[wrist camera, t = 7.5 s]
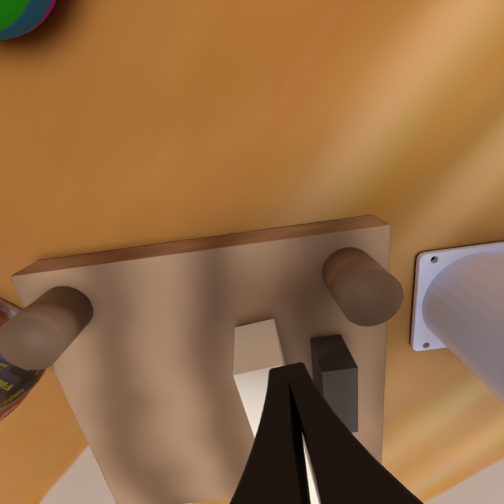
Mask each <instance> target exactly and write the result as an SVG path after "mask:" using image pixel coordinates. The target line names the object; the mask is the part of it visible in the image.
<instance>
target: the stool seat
mask: <svg viewBox="0 0 504 504" xmlns="http://www.w3.org/2000/svg"><path fill="white" fill-rule="evenodd" d="M389 251H390V224H388V223H386V222H384V221H382V220H380V219H379V218H377V217H375V216H373V215H368V216H360V217H353V218H346V219H338V220H331V221H324V222H316V223H309V224H302V225H294V226H287V227H280V228H272V229H265V230H258V231H250V232H243V233H236V234H228V235H221V236H214V237H206V238H199V239H192V240H184V241H177V242H170V243H162V244H155V245H148V246H140V247H133V248H126V249H118V250H111V251H104V252H96V253H89V254H82V255H74V256H67V257H60V258H52V259H45V260H38V261H37V262H35V263H33V264H31V265H29V266H28V267H26V268H24V269H22V270H21V271H19V272H17V273H15V274H14V275H12V276H10V278H11V280H12V282H13V284H14V286H15V288H16V291H17V293H18V295H19V297H20V299H21V301H22V303H23V306H24V309H23V310H21V311H20V312H19V313H17V314H16V315H15V316H13V317H12V318H11V319H9V320H8V321H7V322H5V323H4V324H3V325H1V326H0V354H1V355H2V356H3V357H4V358H5V359H6V360H7V361H8V362H10V363H11V364H13V365H15V366H17V367H20V368H23V369H28V370H41V369H45V368H48V367H50V366H51V365H52V367H53V369H54V372H55V374H56V376H57V378H58V380H59V382H60V384H61V387H62V389H63V391H64V393H65V395H66V397H67V399H68V401H69V404H70V406H71V408H72V410H73V412H74V414H75V416H76V418H77V421H78V423H79V425H80V427H81V429H82V431H83V433H84V436H85V438H86V440H87V442H88V444H89V446H90V448H91V450H92V452H93V455H94V457H95V459H96V461H97V463H98V465H99V468H100V469H101V472H102V474H103V476H104V478H105V480H106V482H107V484H108V487H109V489H110V491H111V493H112V495H113V497H114V499H115V501H116V504H186V503H194V502H202V501H211V500H219V499H227V498H232V497H233V495H234V493H235V490H236V488H237V486H238V483H239V481H240V479H241V476H242V474H243V471H244V469H245V466H246V463H247V461H248V458H249V455H250V452H251V449H252V446H253V443H254V440H255V438H254V435H253V432H252V429H251V426H250V423H249V420H248V417H247V414H246V411H245V409H244V406H243V403H242V400H241V397H240V394H239V391H238V388H237V385H236V382H235V380H234V377H233V365H234V338H235V327H240V326H244V325H248V324H253V323H257V322H261V321H266V320H270V319H274V321H275V325H276V329H277V332H278V336H279V340H280V344H281V348H282V352H283V356H284V360H285V363H286V365H289V364H294V363H298V362H302V363H304V364H305V366H306V368H307V371H308V373H309V375H310V376H311V378H312V380H313V382H314V383H315V385H316V386H317V388H318V390H319V391H320V393H321V394H322V396H323V397H324V398H325V400H326V401H327V402H328V404H329V405H330V407H331V408H332V409H333V411H334V412H335V413H336V415H337V416H338V417H339V418H340V420H341V421H342V422H343V423H344V424H345V426H346V427H347V428H348V429H349V430H350V432H351V433H352V434H353V435H354V436H355V437H356V439H357V440H358V441H359V442H360V443H361V444H362V445H363V446H364V447H365V448H366V449H367V450H368V452H369V453H370V454H371V455H372V456H373V457H374V458H375V459H376V460H377V461H378V462H379V463H380V464H381V465H382V438H383V411H384V385H385V358H386V331H387V320H389V319H390V318H391V317H393V316H394V314H395V313H396V312H397V311H398V309H399V308H400V306H401V303H402V300H403V290H402V287H401V285H400V283H399V282H398V280H397V279H396V278H395V277H393V276H392V275H391V274H390V273H389Z"/></svg>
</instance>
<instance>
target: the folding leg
mask: <svg viewBox="0 0 504 504" xmlns="http://www.w3.org/2000/svg"><path fill="white" fill-rule="evenodd" d="M285 365H286V363H285V360H284V356H283V352H282V348H281V344H280V340H279V336H278V332H277V329H276V325H275V321H274V319H270V320H266V321H261V322H257V323H253V324H248V325H244V326H240V327H235V338H234V365H233V377H234V380H235V382H236V385H237V388H238V391H239V394H240V397H241V400H242V403H243V406H244V409H245V411H246V414H247V417H248V420H249V423H250V426H251V429H252V432H253V435H254V438H255V436H256V433H257V429H258V426H259V423H260V419H261V415H262V410H263V406H264V402H265V397H266V391H267V384H268V373H269V370H270V369H271V368H276V367H280V366H285ZM302 437H303V434H302ZM303 445H304V452H305V460H306V468H307V476H308V484H309V492H310V500H311V504H321V502H320V497H319V492H318V487H317V483H316V478H315V474H314V470H313V467H312V464H311V460H310V457H309V454H308V450H307V447H306V444H305V440H304V437H303Z"/></svg>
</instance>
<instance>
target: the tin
mask: <svg viewBox="0 0 504 504" xmlns="http://www.w3.org/2000/svg"><path fill="white" fill-rule="evenodd" d="M21 310H23V309H21V308H20V307H18V306H16V305H14V304H12V303H10V302H8V301H6V300H4V299H2V298H0V326H1V325H3V324H4V323H5V322H7V321H8V320H9V319H11V318H12V317H13V316H15V315H16V314H17V313H19V312H20V311H21ZM45 370H46V368H45V369H41V370H28V369H23V368H20V367H17V366H15V365H13V364H11V363H10V362H8V361H7V360H6V359H5V358H4V357H3V356H2V355H1V354H0V421H1V420H2V419H4V418H5V417H6V416H7V415H9V414H10V413H11V412H12V411H13V410H14V409H15V408H17V407H18V406H19V405H20V404H21V402H22V401H23V400H24V399H25V398H26V396H27V395H28V394H29V392H30V391H31V389H32V388H33V387H34V386H35V385H36V383H37V382H38V381H39V380H40V378H41V377H42V375H43V374H44V372H45Z"/></svg>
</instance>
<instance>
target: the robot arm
mask: <svg viewBox="0 0 504 504" xmlns="http://www.w3.org/2000/svg"><path fill="white" fill-rule="evenodd" d="M434 256H435V258H434V260H433V261H431V258H432V257H434ZM424 343H426V344H424ZM423 344H424V345H423ZM411 347H412V348H413V349H414V350H415V351H424V350H432V349H439V348H448V349H449V350H450V351H451V352H452V353H453V354H454V355H455V356H456V357H457V358H458V359H459V360H460V361H461V362H462V363H463V364H464V365H465V366H466V367H467V368H468V369H469V370H470V371H471V372H472V373H473V374H475V375H476V376H477V377H478V378H479V379H480V380H481V381H482V382H483V383H484V384H485V385H486V386H487V387H488V388H489V389H490V390H491V391H492V392H493V393H494V394H495V395H496V396H497V397H498V398H499V399H500V400H501V401H502V402H503V403H504V241H503V242H496V243H488V244H481V245H473V246H466V247H458V248H451V249H444V250H436V251H429V252H423V253H421V254H420V255H419V256H418V257H417V262H416V276H415V289H414V303H413V317H412V330H411ZM302 434H303V437H304V440H305V444H306V447H307V450H308V454H309V457H310V460H311V464H312V467H313V470H314V474H315V478H316V483H317V487H318V492H319V497H320V502H321V504H424V503H422V502H421V501H420V500H419V499H418V498H417V497H416V496H414V495H413V494H412V493H411V492H410V491H409V490H408V489H407V488H406V487H405V486H403V485H402V484H401V483H400V482H399V481H398V480H397V479H396V478H395V477H394V476H393V475H392V474H391V473H390V472H389V471H387V470H386V469H385V468H384V467H383V466H382V465H381V464H380V463H379V462H378V461H377V460H376V459H375V458H374V457H373V456H372V455H371V454H370V453H369V452H368V450H367V449H366V448H365V447H364V446H363V445H362V444H361V443H360V442H359V441H358V440H357V439H356V437H355V436H354V435H353V434H352V433H351V432H350V430H349V429H348V428H347V427H346V426H345V424H344V423H343V422H342V421H341V420H340V418H339V417H338V416H337V415H336V413H335V412H334V411H333V409H332V408H331V407H330V405H329V404H328V402H327V401H326V400H325V398H324V397H323V396H322V394H321V393H320V391H319V390H318V388H317V386H316V385H315V383H314V382H313V380H312V378H311V376H310V375H309V373H308V371H307V368H306V366H305V364H304V363H302V362H298V363H294V364H289V365H285V366H280V367H276V368H271V369H270V370H269V373H268V384H267V391H266V397H265V402H264V406H263V410H262V415H261V419H260V423H259V426H258V429H257V433H256V436H255V440H254V443H253V446H252V449H251V452H250V455H249V458H248V461H247V463H246V466H245V469H244V471H243V474H242V476H241V479H240V481H239V483H238V486H237V488H236V490H235V493H234V495H233V497H232V500H231V502H230V504H311V500H310V492H309V484H308V476H307V468H306V460H305V452H304V445H303V437H302Z"/></svg>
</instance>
